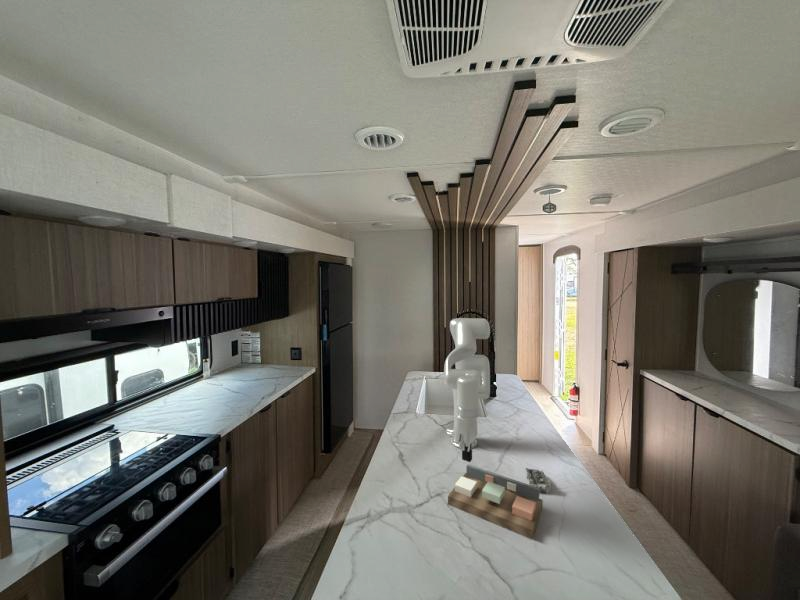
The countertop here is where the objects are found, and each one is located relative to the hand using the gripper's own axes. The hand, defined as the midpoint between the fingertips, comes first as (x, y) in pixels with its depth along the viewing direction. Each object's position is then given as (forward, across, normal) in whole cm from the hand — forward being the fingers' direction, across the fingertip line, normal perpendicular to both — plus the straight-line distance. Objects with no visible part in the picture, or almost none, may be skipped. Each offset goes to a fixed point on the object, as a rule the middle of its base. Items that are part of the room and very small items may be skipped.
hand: (467, 459), depth 117 cm
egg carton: (+14, -21, +20) cm, 32 cm away
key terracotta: (+10, +1, +20) cm, 23 cm away
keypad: (+13, 0, +10) cm, 17 cm away
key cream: (+10, +1, 0) cm, 11 cm away
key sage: (+9, +1, +10) cm, 14 cm away
